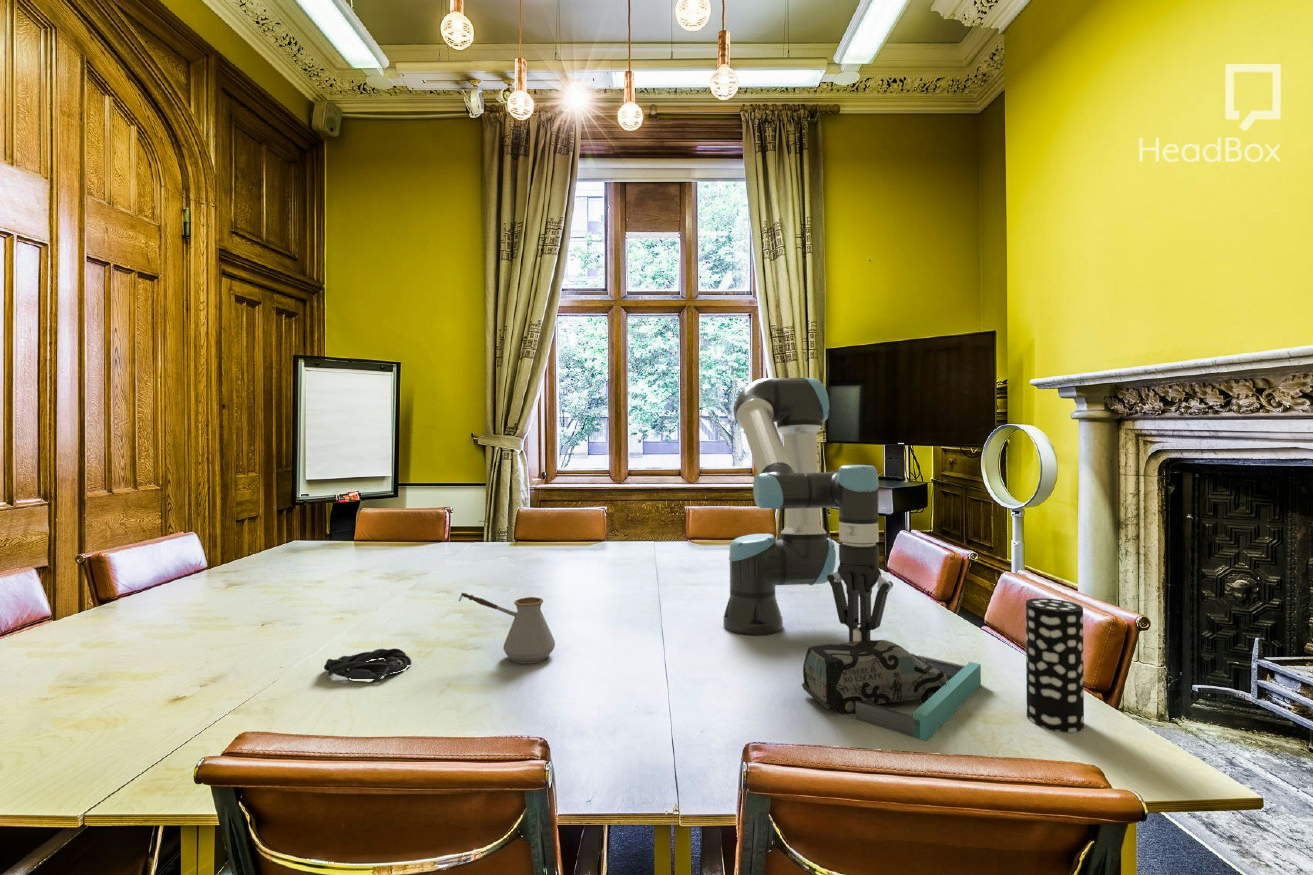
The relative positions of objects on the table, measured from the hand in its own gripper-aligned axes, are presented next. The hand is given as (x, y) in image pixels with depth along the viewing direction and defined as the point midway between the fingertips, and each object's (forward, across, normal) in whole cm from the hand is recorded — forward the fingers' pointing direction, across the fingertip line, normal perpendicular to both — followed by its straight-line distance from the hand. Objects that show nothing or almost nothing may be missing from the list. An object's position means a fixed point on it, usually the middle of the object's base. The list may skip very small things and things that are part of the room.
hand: (859, 661), depth 125 cm
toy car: (+5, +5, -5) cm, 8 cm away
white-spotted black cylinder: (+5, +32, +6) cm, 33 cm away
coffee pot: (+5, -66, -38) cm, 76 cm away
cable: (+5, -83, -62) cm, 103 cm away
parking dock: (+4, +13, 0) cm, 14 cm away
